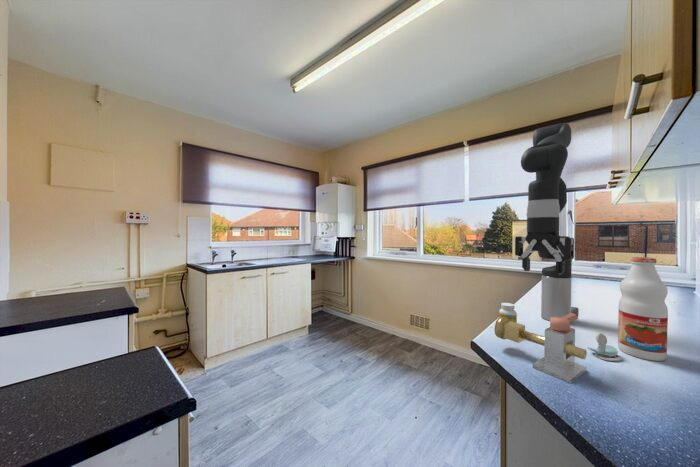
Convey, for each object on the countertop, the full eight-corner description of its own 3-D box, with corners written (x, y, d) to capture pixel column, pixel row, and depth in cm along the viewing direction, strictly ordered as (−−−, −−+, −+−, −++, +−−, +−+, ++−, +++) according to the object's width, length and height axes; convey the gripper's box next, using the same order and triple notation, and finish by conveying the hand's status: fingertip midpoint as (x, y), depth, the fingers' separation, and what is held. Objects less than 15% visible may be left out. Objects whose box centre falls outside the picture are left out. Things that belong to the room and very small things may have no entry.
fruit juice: (653, 349, 77) (655, 256, 76) (676, 365, 68) (679, 260, 67) (611, 343, 81) (613, 255, 80) (628, 357, 72) (630, 258, 71)
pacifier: (628, 361, 70) (603, 350, 76) (630, 339, 70) (605, 330, 76) (607, 364, 69) (583, 352, 75) (608, 341, 69) (584, 332, 75)
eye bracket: (549, 357, 72) (550, 320, 72) (586, 370, 66) (587, 330, 65) (532, 367, 67) (533, 328, 67) (570, 383, 60) (571, 339, 60)
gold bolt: (505, 334, 81) (505, 314, 81) (589, 363, 64) (589, 338, 64) (494, 339, 78) (494, 318, 77) (579, 371, 60) (579, 344, 60)
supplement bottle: (508, 327, 94) (509, 301, 94) (520, 333, 88) (520, 306, 88) (495, 328, 93) (495, 302, 93) (506, 334, 88) (506, 307, 87)
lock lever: (566, 318, 73) (566, 305, 73) (584, 322, 70) (585, 309, 70) (547, 327, 67) (547, 313, 67) (566, 332, 63) (566, 317, 63)
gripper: (579, 215, 69) (578, 275, 70) (522, 217, 82) (521, 268, 82) (568, 215, 65) (567, 278, 66) (509, 217, 78) (509, 270, 78)
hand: (542, 272), depth 74 cm, fingers open, 7 cm apart
